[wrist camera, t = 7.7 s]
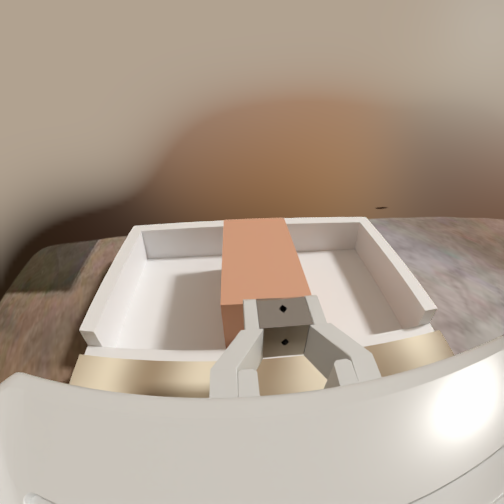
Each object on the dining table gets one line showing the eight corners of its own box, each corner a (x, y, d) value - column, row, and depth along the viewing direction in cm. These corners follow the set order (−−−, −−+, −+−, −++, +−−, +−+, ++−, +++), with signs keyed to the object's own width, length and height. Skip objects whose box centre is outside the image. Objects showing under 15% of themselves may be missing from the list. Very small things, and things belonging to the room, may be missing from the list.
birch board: (423, 356, 17) (439, 330, 15) (480, 501, 6) (510, 488, 4) (97, 379, 16) (79, 354, 14) (70, 547, 5) (39, 543, 3)
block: (302, 353, 18) (281, 266, 26) (313, 299, 15) (283, 217, 23) (227, 358, 17) (227, 268, 26) (220, 305, 15) (223, 219, 23)
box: (359, 248, 30) (365, 217, 28) (423, 356, 17) (445, 320, 15) (141, 258, 28) (133, 226, 26) (97, 379, 16) (72, 344, 14)
